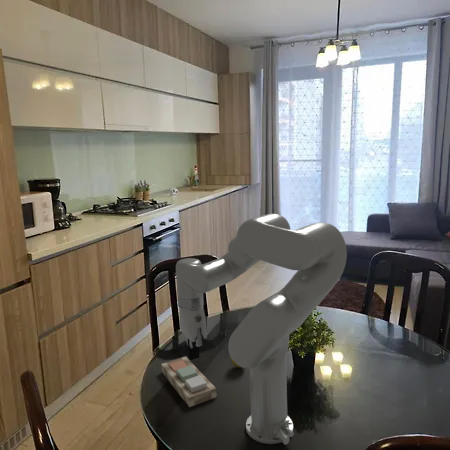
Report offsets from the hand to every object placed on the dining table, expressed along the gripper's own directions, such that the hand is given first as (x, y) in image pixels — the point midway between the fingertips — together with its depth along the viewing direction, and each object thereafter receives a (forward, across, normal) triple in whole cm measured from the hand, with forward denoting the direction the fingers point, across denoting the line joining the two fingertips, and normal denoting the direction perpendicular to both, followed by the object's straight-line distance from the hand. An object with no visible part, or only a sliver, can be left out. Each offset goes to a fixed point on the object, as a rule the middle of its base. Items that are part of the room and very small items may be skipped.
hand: (193, 357), depth 125 cm
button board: (+12, +6, 0) cm, 14 cm away
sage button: (+10, +7, 0) cm, 12 cm away
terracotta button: (+12, +13, 0) cm, 18 cm away
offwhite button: (+10, 0, 0) cm, 10 cm away
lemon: (+12, +6, -19) cm, 24 cm away
